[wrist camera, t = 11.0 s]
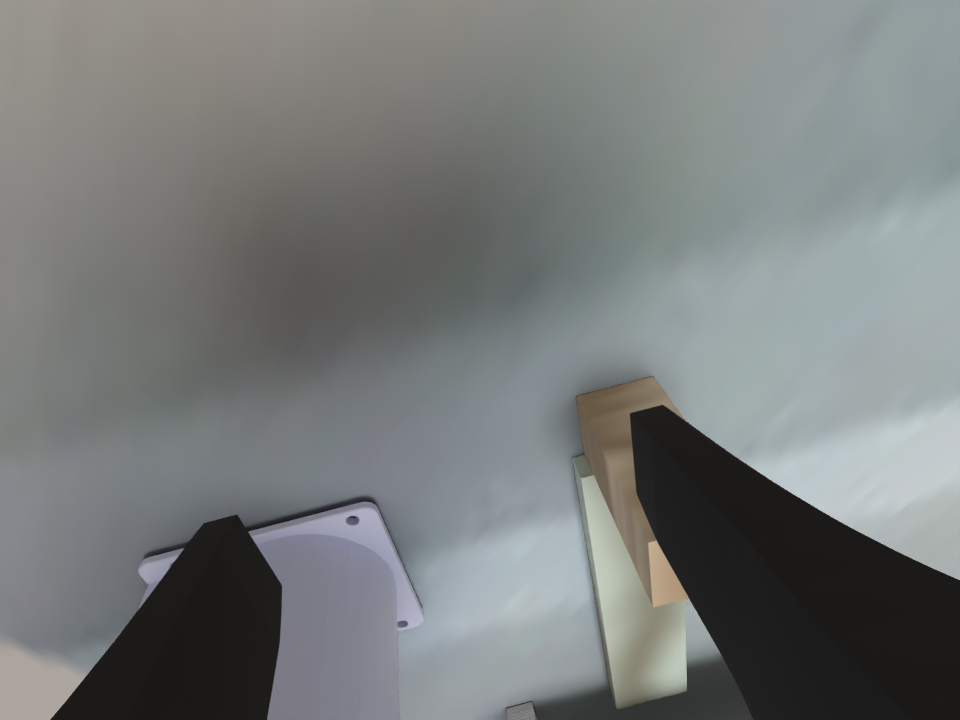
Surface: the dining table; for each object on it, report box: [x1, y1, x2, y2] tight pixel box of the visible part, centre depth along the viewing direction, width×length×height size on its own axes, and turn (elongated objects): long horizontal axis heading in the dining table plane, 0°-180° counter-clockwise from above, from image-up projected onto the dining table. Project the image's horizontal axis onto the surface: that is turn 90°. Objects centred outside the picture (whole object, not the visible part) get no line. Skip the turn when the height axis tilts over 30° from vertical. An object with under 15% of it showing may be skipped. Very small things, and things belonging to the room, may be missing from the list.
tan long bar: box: [573, 376, 689, 710], centre depth 24 cm, size 4×21×7 cm, turn 12°
